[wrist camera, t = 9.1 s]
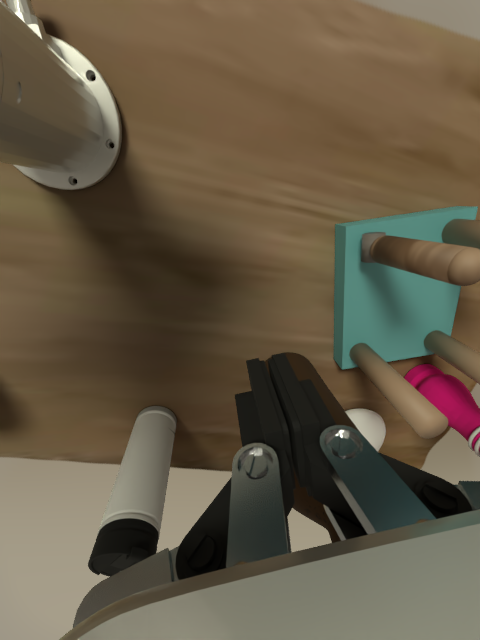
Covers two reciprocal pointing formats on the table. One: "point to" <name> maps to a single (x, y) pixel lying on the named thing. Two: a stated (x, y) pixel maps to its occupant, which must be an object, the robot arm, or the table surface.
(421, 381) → the pepper mill
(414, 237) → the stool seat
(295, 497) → the olive oil
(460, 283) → the hinged leg
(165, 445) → the travel mug
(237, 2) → the table surface
